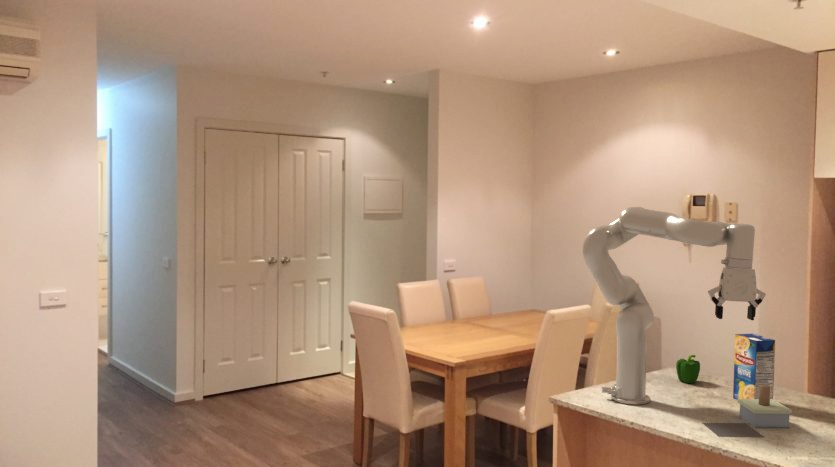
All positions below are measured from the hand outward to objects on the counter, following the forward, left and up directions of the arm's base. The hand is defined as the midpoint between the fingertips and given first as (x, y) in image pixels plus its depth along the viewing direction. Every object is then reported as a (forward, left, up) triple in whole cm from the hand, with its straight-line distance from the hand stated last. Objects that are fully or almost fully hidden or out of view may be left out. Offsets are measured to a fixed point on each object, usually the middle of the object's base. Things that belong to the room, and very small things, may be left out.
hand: (734, 318), depth 217 cm
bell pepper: (+2, +40, -31) cm, 50 cm away
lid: (+6, -7, -26) cm, 27 cm away
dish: (+7, -7, -31) cm, 32 cm away
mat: (-6, -14, -31) cm, 34 cm away
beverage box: (+14, +15, -31) cm, 37 cm away
